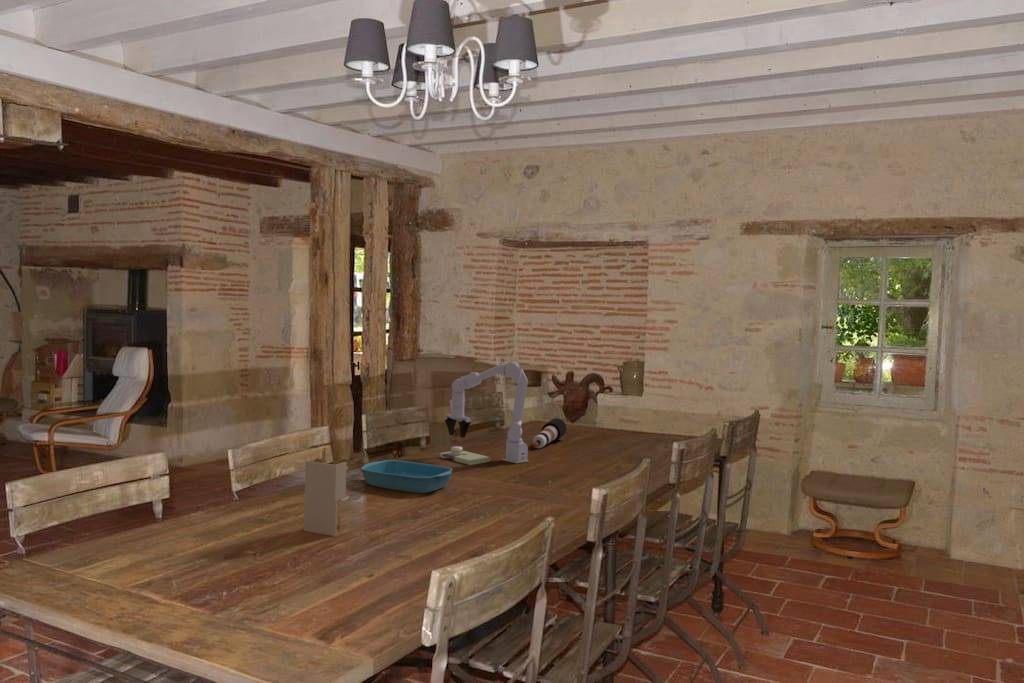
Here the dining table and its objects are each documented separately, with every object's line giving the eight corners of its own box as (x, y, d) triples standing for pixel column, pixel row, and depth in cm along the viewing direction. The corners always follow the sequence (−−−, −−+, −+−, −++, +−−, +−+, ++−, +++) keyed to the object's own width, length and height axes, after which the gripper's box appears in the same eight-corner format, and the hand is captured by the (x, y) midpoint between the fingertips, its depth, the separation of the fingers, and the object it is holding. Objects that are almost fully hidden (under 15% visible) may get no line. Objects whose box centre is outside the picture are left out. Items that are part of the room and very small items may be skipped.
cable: (530, 458, 389) (521, 439, 389) (553, 440, 420) (544, 422, 420) (548, 451, 385) (538, 431, 385) (569, 433, 416) (561, 415, 416)
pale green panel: (490, 461, 356) (490, 457, 356) (469, 465, 348) (469, 460, 348) (460, 454, 371) (460, 450, 370) (439, 457, 362) (440, 453, 362)
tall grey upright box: (335, 537, 241) (337, 452, 239) (304, 532, 245) (305, 448, 244) (350, 531, 248) (352, 448, 246) (320, 525, 252) (321, 444, 251)
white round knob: (464, 458, 361) (464, 447, 361) (455, 460, 358) (456, 448, 357) (457, 456, 365) (457, 446, 365) (448, 458, 361) (449, 447, 361)
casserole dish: (349, 485, 306) (349, 466, 306) (384, 474, 326) (384, 456, 326) (431, 498, 289) (431, 479, 289) (463, 486, 309) (463, 468, 309)
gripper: (440, 404, 363) (439, 434, 363) (462, 408, 352) (461, 439, 353) (452, 403, 368) (451, 433, 368) (474, 407, 357) (473, 437, 358)
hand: (457, 436), depth 361 cm, fingers open, 7 cm apart
